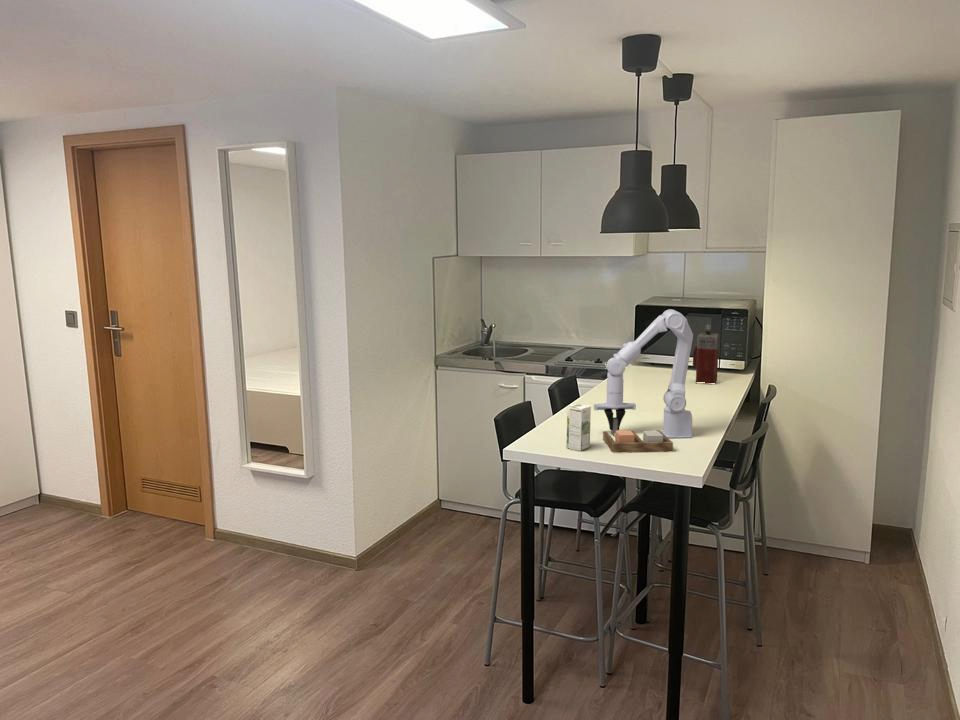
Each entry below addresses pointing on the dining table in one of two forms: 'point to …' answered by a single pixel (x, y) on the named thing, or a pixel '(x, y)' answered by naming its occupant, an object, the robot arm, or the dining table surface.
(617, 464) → the dining table surface
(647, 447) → the wooden divided tray
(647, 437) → the grey block
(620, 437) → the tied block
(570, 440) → the syrup box
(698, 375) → the red liquid bottle
